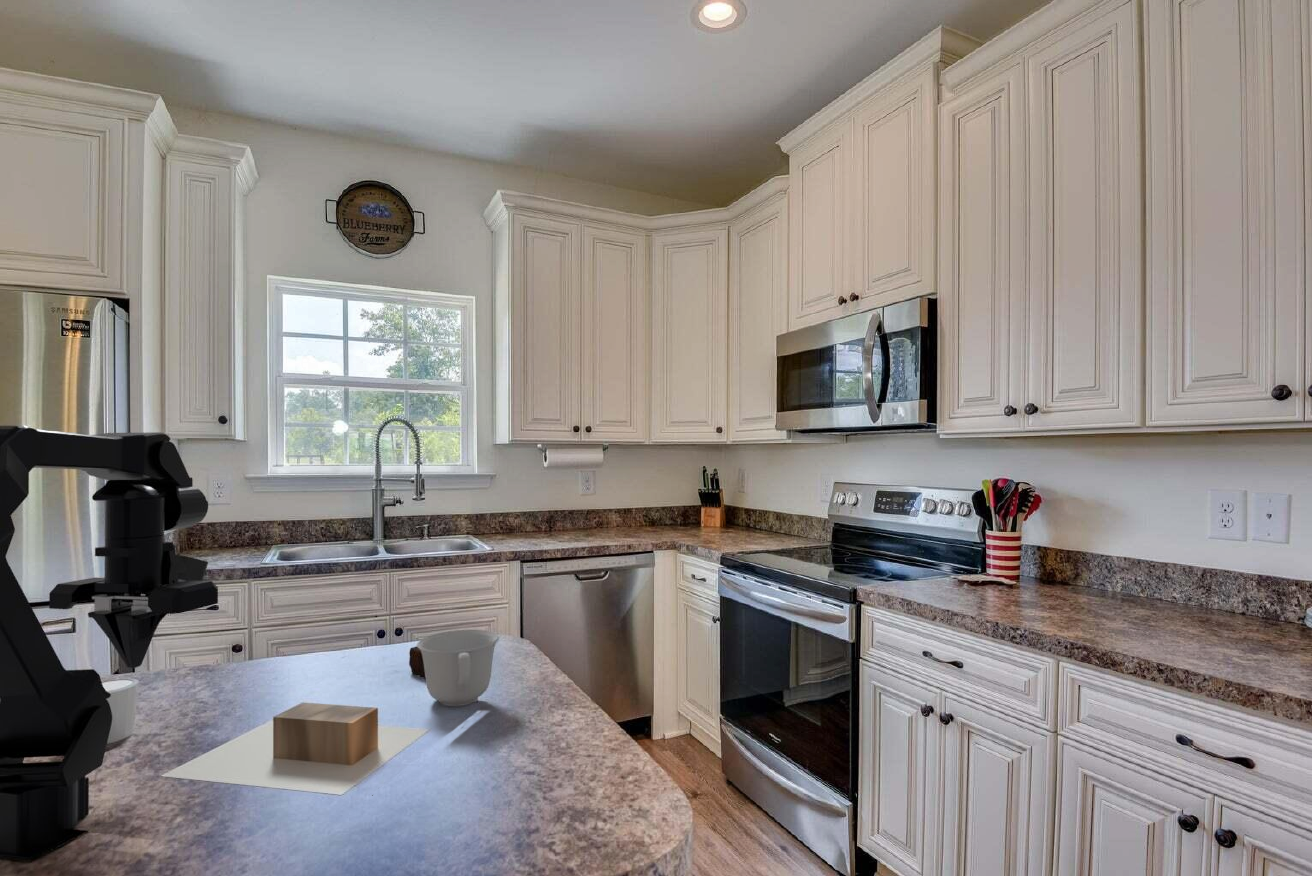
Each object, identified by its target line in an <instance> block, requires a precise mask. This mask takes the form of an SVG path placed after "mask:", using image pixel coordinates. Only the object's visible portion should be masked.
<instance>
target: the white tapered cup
mask: <svg viewBox="0 0 1312 876" xmlns="http://www.w3.org/2000/svg"><path fill="white" fill-rule="evenodd" d="M101 682H102V685H103V687H104V689H105V690H106V691H107V692H108V693H110V694H111V696H110V697H109V698H107V701H108V702H109V705H110V708H111V712H112V724H111V729H110V733H109V737H108V741H107V745H108V744H113V743H117V742H119V741H122V740H124V739H127V738H128V737H130V736H132V735H133V733H134V731H135V730H134V728H135V721H136V712H137V703H138V694H139V687H140V686H139V685H140V681H139V679H136V678H116V679H110V680H109V679H108V680H104V681H101Z"/></svg>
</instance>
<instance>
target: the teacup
mask: <svg viewBox="0 0 1312 876" xmlns="http://www.w3.org/2000/svg"><path fill="white" fill-rule="evenodd" d="M499 640H500V635H498V634H497V633H496V632H493V631H490V630H483V629H459V630H449V631H443V632H438V633H433V634H430V635H428V636H424V637H423V638H421V639H420V640H419V641H418V642H417V643H416V646H417V647H418V648H419V649H420V650H421V653H422V657H423V662H424V670H425V678H426V679H425V678H424V679H425V683H426V689H427V690H428V691H427V692H428V693H429V695H430V697H432V699H434V700H435V701H438V702H440V704H441V705H443V706H445V707H446V706H448V707H459V706H460V707H461V706H466V705H469V704H473V703H474V702H479V699H478V698H480V697H481V696H482V695H484V694H485V692H486V691H487V690H488V688H489V686H490V682H491V676H492V670H493V660H494V652H495V647H496V645H497V643H498V641H499Z"/></svg>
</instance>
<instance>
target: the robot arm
mask: <svg viewBox="0 0 1312 876" xmlns="http://www.w3.org/2000/svg"><path fill="white" fill-rule="evenodd" d="M34 468H36V469H61V470H63V469H64V470H65V469H66V470H80V471H84V472H86V474H87V475H89V476H90V477H95V478H98V479H103V480H107V481H106V483H105V484H104V485H103V486H102V487H101V488H99V489H98V490H96V491H95V492H94V493H93V495H92V498H91V499H92V500H93V501H95V502H98V501H99V502H100V501H101V502H102V501H103V502H104V545H103V546H98V547H94V557H104V577H90V578H84V579H79V580H71V581H67V582H62V583H58V584H56V585H55V586H54V588H53V589H52V590H51V591H50V592H49V597H48V599H49V603H48V605H49V609H50V610H53V609H54V610H69V609H72V608H73V607H74V606H75V605H76V604H80V603H86V602H94V611H89V612H87V616H88V618H90V619H93V620H94V621H95V622H96V624H97V626H98V627H99V628H100V629H101V630H102V632H103V633H104V634H105V636H106V637H107V638H108V640H109V641H110V643H111V645H112V646H113V648H114V649H115V650H116V652H117V653H118V655H119V657H120V658H121V659H122V661H123V663H124V665H125V666H126V667H127V668H128V669H136V668H139V667H140V666H142V665H143V661H144V659H145V657H146V655H147V652H148V649H149V647H150V644H151V642H152V639H153V637H154V635H155V632H156V630H157V628H158V626H159V624H160V623H161V621H162V620H163V619H164V618H165V617H166V616H167V615H175V614H181V613H185V612H191V611H193V610H197V609H202V608H205V607H209V606H212V605H213V606H214V605H217V604H219V587H218V585H216V584H215V583H214V582H213V581H212V580H204V577H205V574H206V572H207V569H208V564H209V561H207V560H203V559H199V558H195V557H191V556H187V555H181V554H176V545H175V544H174V542H173V541H165V532H168V531H173V530H179V529H186V528H191V527H194V526H196V525H198V524H200V523H201V522H202V521H203V520H204V519H205V518H206V516H207V514H208V512H209V511H208V510H209V501H208V500H207V497H206V495H205V494H204V492H202V490H200V489H199V488H197V487H195V486H194V485H193V481H194V479H193V477H190V475H189V473H188V470H187V469H186V466H185V464H184V462H183V460H182V458H181V455H180V453H179V451H178V449H177V446H176V445H175V444H174V443H173V441H171V437H170V436H169V435H168V434H167V433H164V432H159V431H158V432H151V431H150V432H105V433H97V434H83V433H75V432H74V433H73V432H66V431H56V430H47V429H46V430H45V429H39V428H37V429H36V428H32V427H30V426H27V425H23V424H21V425H19V424H18V425H14V424H12V425H9V424H8V425H6V424H5V425H3V424H2V425H0V859H5V860H11V861H19V862H32V861H34V860H37V859H39V858H40V857H43V856H44V855H46V854H48V853H50V852H51V851H54V850H55V849H58V848H59V847H61V846H63V845H65V844H68V843H69V842H71V841H72V840H75V839H77V838H78V837H80V836H82V835H83V834H86V833H88V832H89V830H85V829H76V826H77V825H78V823H79V821H81V820H83V819H85V818H86V817H87V816H88V815H89V813H90V811H89V810H90V809H89V808H90V806H89V805H90V778H89V777H87V775H90V773H92V772H94V771H95V770H97V769H98V768H100V767H101V766H102V765H103V763H104V762H103V761H104V758H105V753H106V750H107V745H108V744H107V741H108V737H109V733H110V729H111V724H112V712H111V708H110V705H109V702H108V701H107V698H109V697H110V696H111V694H110V693H108V692H107V691H106V690H105V689H104V687H103V685H102V682H103V681H102V679H101V675H100V674H99V673H98V671H96V670H95V669H93V668H92V669H91V668H89V669H88V668H87V669H65V667H64V666H63V664H62V662H61V660H60V659H59V657H58V655H57V652H56V651H55V649H54V647H53V645H52V643H51V641H50V639H49V638H48V636H47V634H46V632H45V630H44V628H43V626H42V625H41V623H40V621H39V619H38V617H37V615H36V613H35V612H34V609H33V608H32V606H31V604H30V602H29V600H28V598H27V597H26V595H25V593H24V591H23V589H22V587H21V585H20V583H19V581H18V579H17V578H16V576H15V573H14V572H13V570H12V568H11V566H10V564H9V562H8V560H7V559H8V558H7V553H8V550H9V548H10V545H11V543H12V540H13V538H14V534H15V531H16V529H15V528H16V527H15V525H14V521H13V518H12V515H13V514H14V513H15V511H16V510H17V509H18V508H19V507H20V506H21V505H22V503H23V502H24V501H25V500H26V499H27V498H28V496H29V493H30V492H29V491H30V472H31V471H32V470H33V469H34ZM44 757H45V758H46V757H47V758H48V757H49V758H51V757H63V758H62V760H56V761H54V760H53V761H36V762H34V761H33V762H24V760H25V759H27V758H28V759H29V758H44Z"/></svg>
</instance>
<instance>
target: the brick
mask: <svg viewBox="0 0 1312 876" xmlns="http://www.w3.org/2000/svg"><path fill="white" fill-rule="evenodd" d="M408 656H409V662H408V665H409V667H410V672H411V673H413V674H412V675H415V674H416V675H415V676H418V675H419V676H418V677H420V678H422V677H423V679H425V670H424V662H423V657H422V653H421V650H420V649H419V648H418V647H417V645H416V646H413V647H410V648H409V655H408Z"/></svg>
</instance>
